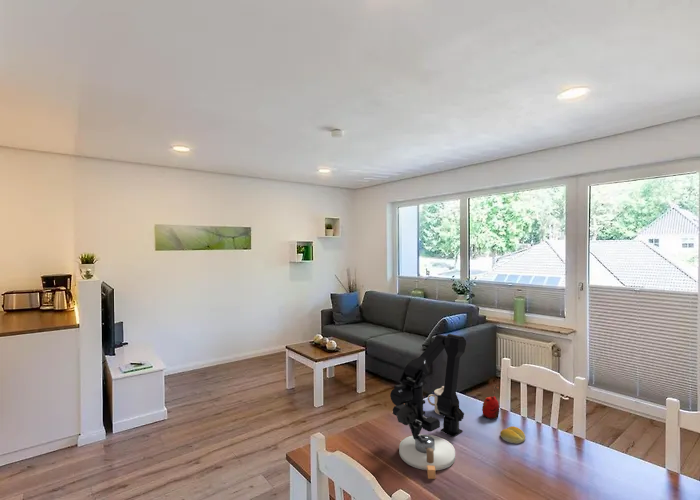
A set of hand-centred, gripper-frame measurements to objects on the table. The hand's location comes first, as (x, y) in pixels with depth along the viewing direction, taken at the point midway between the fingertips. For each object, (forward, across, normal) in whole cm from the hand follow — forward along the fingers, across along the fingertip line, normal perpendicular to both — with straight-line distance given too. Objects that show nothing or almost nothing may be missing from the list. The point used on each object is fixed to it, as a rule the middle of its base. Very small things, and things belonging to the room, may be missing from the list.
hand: (415, 439), depth 140 cm
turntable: (+4, +5, 0) cm, 7 cm away
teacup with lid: (+4, -13, +33) cm, 36 cm away
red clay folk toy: (+4, +5, +45) cm, 46 cm away
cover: (+1, +5, 0) cm, 5 cm away
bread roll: (+4, +20, +35) cm, 41 cm away
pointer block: (+4, +14, -9) cm, 17 cm away
